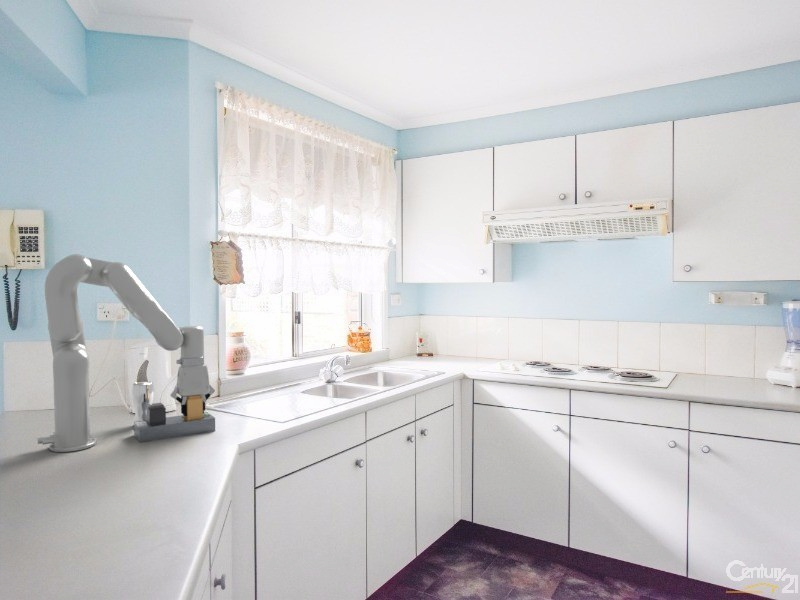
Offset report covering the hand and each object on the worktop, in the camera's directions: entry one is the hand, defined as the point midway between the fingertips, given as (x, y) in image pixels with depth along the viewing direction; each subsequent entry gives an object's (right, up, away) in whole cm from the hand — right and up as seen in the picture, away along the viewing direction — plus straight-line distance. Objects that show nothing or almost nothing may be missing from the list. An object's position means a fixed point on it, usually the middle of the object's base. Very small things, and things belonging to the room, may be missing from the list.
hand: (193, 413), depth 193 cm
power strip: (-5, -6, -3) cm, 8 cm away
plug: (0, -3, 0) cm, 3 cm away
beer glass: (-20, -6, +7) cm, 22 cm away
